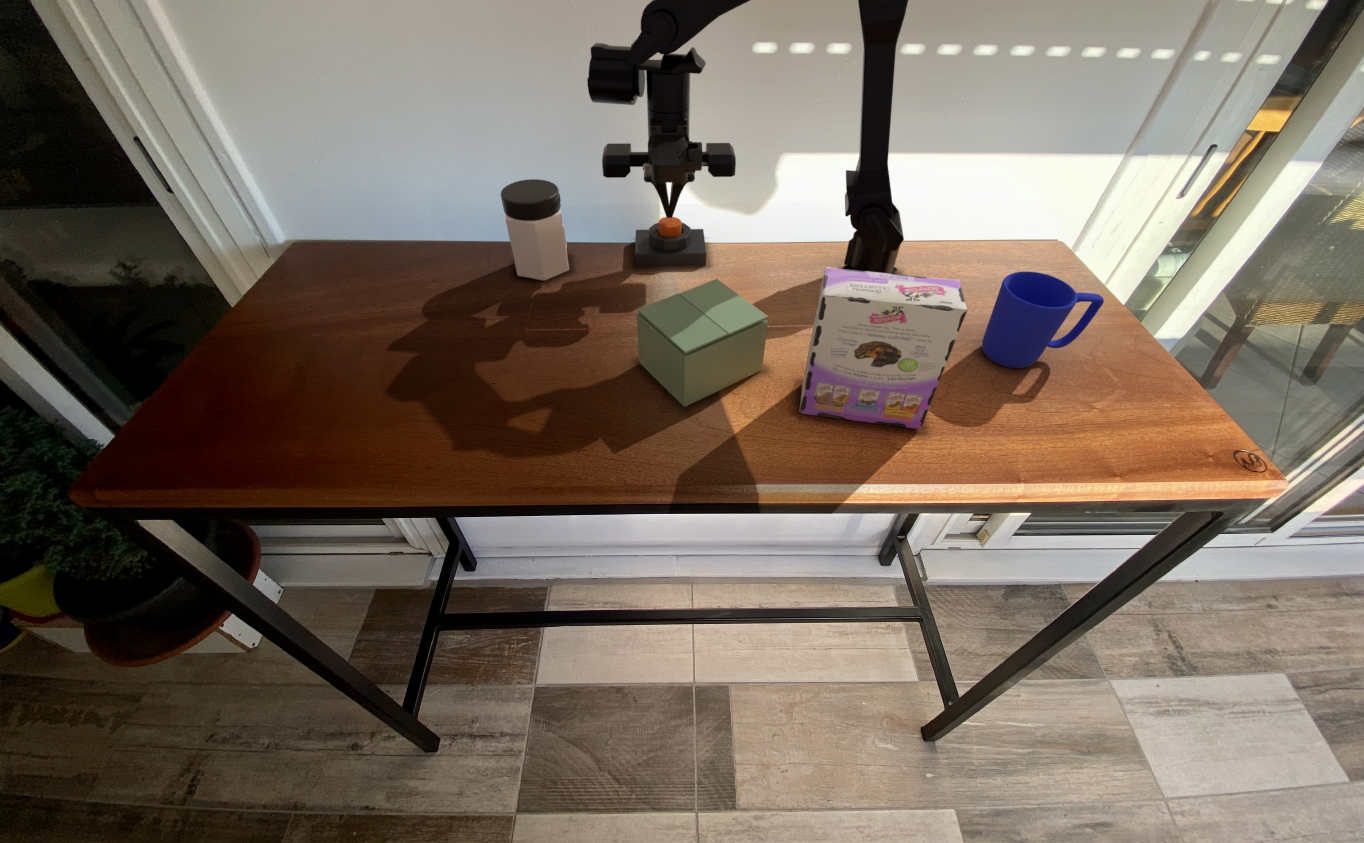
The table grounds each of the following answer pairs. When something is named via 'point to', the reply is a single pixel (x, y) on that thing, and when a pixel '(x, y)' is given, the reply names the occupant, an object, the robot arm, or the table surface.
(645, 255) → the control block
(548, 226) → the jar
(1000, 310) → the mug
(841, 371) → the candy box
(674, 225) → the button
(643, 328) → the carton
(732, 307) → the flap
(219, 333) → the table surface
